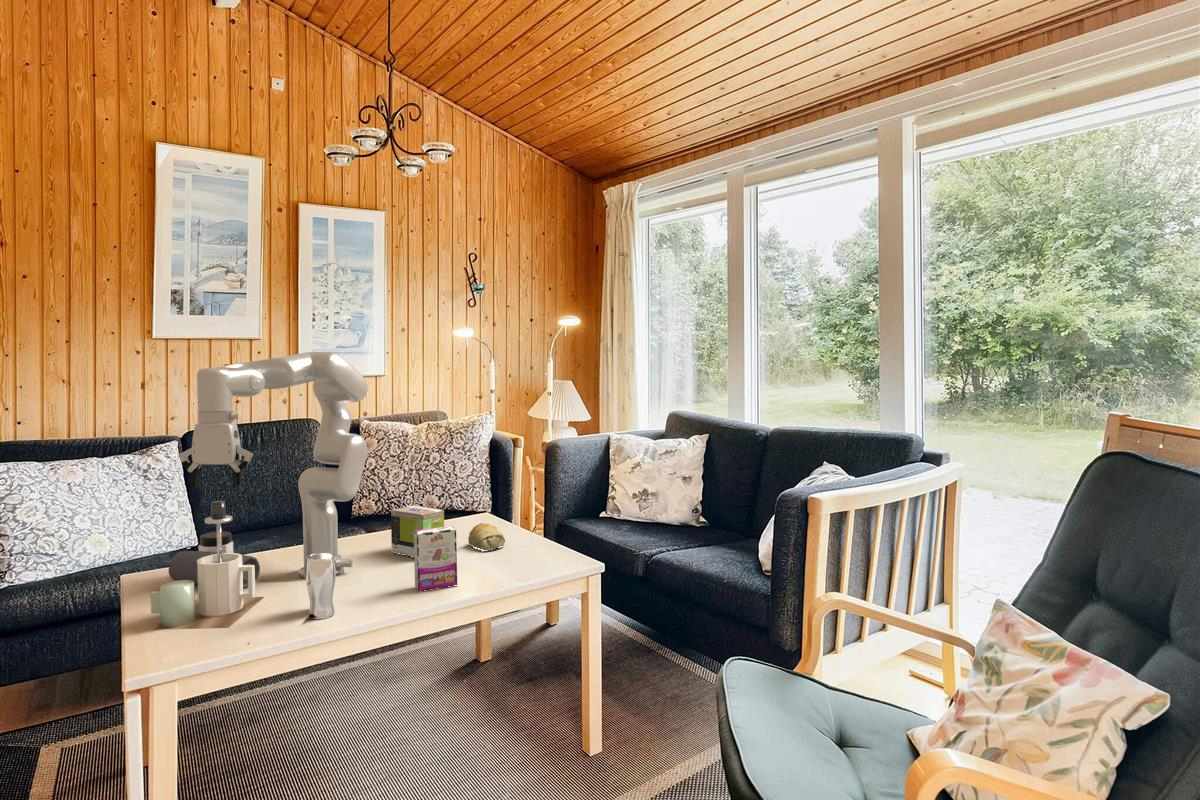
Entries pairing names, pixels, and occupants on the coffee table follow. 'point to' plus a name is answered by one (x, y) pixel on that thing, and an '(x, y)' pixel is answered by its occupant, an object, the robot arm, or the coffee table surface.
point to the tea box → (412, 525)
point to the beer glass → (320, 584)
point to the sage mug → (174, 603)
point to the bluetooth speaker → (186, 566)
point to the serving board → (216, 621)
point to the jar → (210, 542)
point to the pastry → (486, 537)
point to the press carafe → (223, 584)
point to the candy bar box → (435, 558)
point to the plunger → (218, 524)
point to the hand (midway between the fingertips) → (216, 487)
